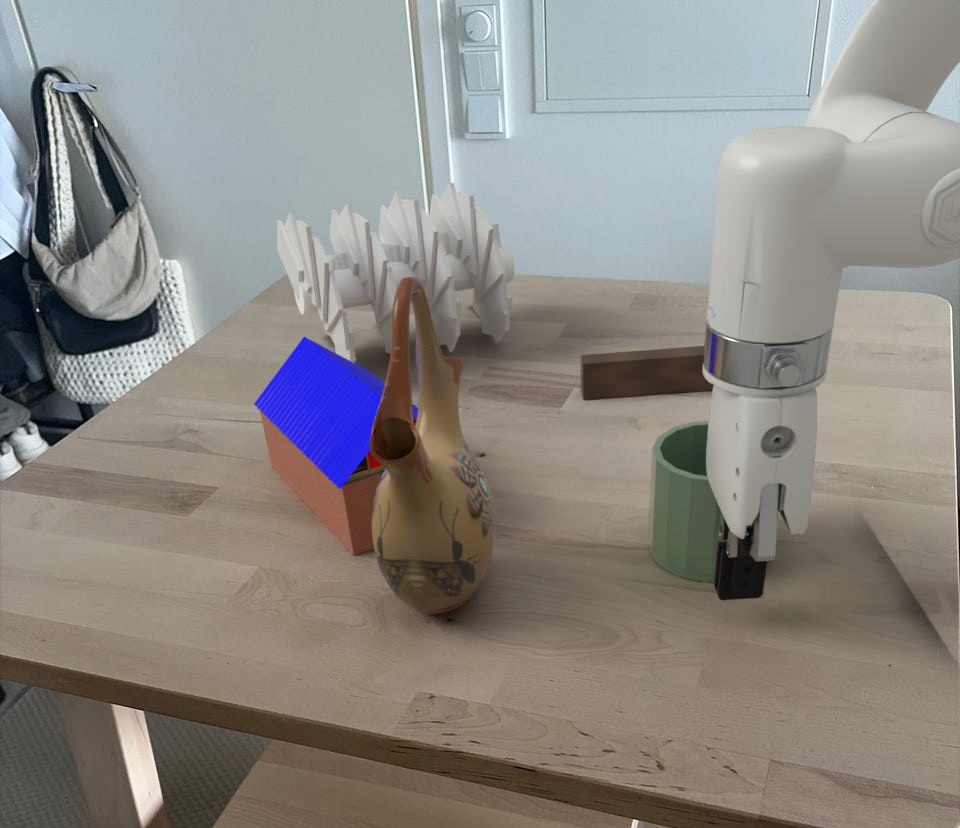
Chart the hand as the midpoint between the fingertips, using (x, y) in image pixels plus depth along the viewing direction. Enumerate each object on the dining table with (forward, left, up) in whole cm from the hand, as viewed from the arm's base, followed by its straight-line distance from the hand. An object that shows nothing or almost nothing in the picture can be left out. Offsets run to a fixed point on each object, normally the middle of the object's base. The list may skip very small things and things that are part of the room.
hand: (737, 592), depth 75 cm
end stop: (0, -41, -2) cm, 41 cm away
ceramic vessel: (+22, -6, -3) cm, 23 cm away
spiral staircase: (+25, -56, -3) cm, 61 cm away
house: (+29, -24, -3) cm, 37 cm away
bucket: (0, -10, -2) cm, 10 cm away
